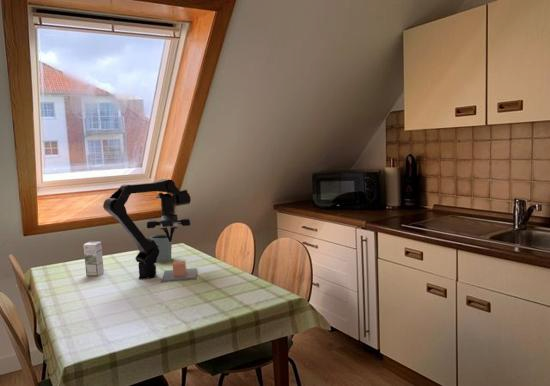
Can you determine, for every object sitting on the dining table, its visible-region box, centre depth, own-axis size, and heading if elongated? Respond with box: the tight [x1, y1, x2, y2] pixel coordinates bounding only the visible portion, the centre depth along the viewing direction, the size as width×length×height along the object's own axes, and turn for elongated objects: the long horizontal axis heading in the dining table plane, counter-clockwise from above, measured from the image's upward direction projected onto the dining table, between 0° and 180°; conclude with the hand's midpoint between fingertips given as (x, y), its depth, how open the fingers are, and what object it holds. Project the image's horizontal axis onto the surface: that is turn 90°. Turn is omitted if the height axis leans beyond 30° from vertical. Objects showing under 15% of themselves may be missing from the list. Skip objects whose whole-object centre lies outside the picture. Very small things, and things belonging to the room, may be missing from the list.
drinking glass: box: [149, 233, 173, 263], centre depth 219 cm, size 10×10×12 cm
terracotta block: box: [172, 260, 187, 276], centre depth 192 cm, size 5×5×5 cm
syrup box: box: [82, 241, 105, 277], centre depth 199 cm, size 6×6×14 cm
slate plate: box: [161, 267, 198, 283], centre depth 192 cm, size 14×14×1 cm
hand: (170, 241), depth 200 cm, fingers closed
